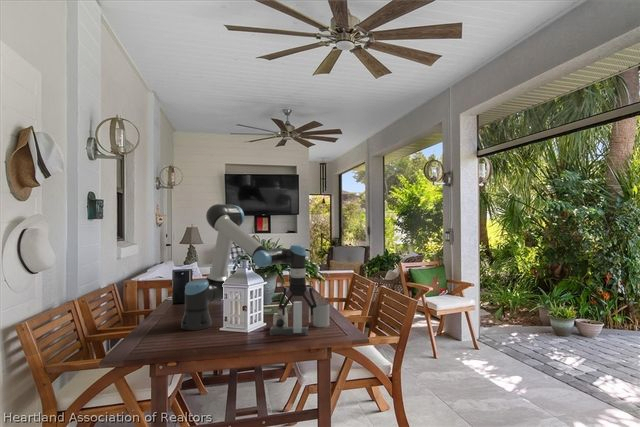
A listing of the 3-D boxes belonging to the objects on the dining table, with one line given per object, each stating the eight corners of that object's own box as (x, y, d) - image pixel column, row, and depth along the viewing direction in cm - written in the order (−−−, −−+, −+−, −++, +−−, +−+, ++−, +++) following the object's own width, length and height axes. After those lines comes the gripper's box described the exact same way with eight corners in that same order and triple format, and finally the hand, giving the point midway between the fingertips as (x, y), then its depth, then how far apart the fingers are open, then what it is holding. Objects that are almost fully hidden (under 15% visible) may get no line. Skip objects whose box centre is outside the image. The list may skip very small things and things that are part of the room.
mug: (330, 327, 198) (330, 306, 198) (313, 327, 197) (313, 306, 197) (327, 321, 210) (328, 301, 210) (312, 321, 209) (312, 301, 209)
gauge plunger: (276, 320, 193) (276, 307, 194) (277, 318, 197) (277, 305, 197) (284, 320, 194) (284, 307, 194) (284, 318, 197) (284, 305, 197)
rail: (270, 335, 184) (270, 329, 184) (270, 332, 188) (270, 326, 188) (308, 335, 184) (308, 329, 184) (308, 332, 188) (308, 326, 189)
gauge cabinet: (273, 330, 192) (273, 316, 192) (274, 326, 198) (274, 313, 198) (287, 330, 192) (287, 316, 192) (287, 326, 198) (287, 313, 199)
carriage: (293, 332, 184) (293, 303, 184) (293, 330, 188) (293, 301, 188) (301, 332, 184) (301, 303, 184) (301, 330, 188) (301, 301, 189)
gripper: (273, 277, 182) (272, 324, 182) (322, 277, 183) (321, 323, 183) (274, 275, 190) (274, 319, 190) (321, 275, 191) (321, 319, 190)
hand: (297, 321), depth 186 cm, fingers open, 11 cm apart
